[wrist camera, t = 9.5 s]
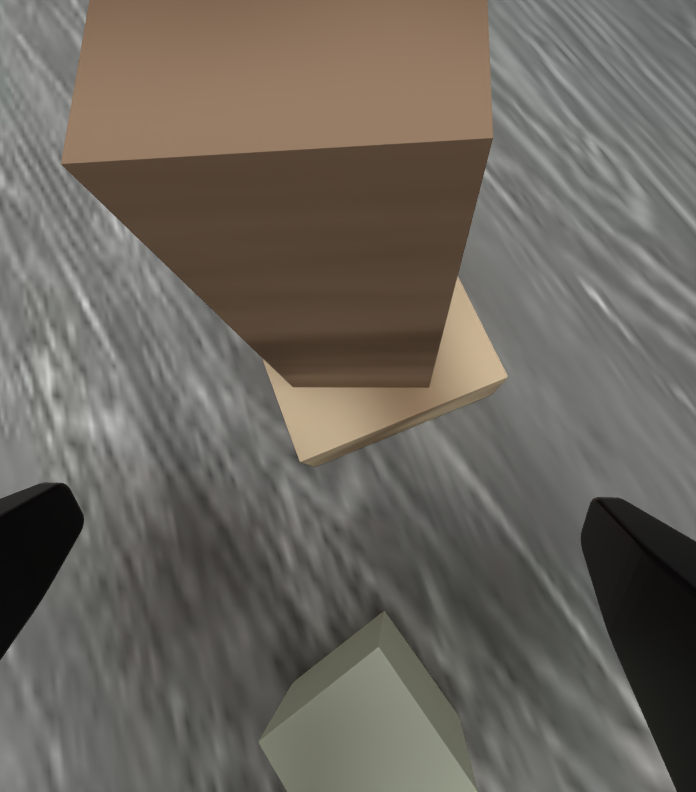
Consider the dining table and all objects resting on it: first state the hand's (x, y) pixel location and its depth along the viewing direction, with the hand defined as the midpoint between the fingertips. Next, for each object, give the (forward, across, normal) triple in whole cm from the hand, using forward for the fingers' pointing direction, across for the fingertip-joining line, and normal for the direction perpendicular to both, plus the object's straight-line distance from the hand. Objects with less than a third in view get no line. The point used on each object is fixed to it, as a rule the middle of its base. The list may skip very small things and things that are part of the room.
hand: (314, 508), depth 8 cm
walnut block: (+10, 0, -1) cm, 11 cm away
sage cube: (+3, 0, -13) cm, 14 cm away
